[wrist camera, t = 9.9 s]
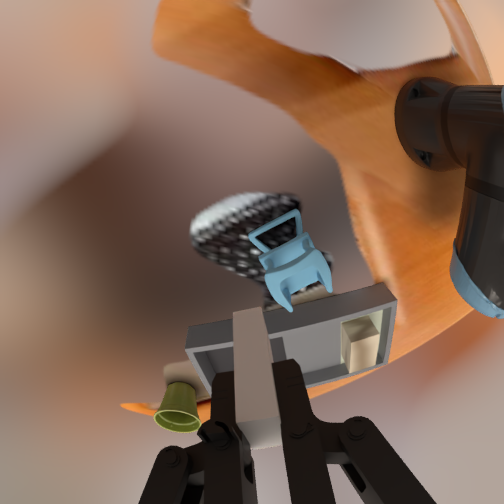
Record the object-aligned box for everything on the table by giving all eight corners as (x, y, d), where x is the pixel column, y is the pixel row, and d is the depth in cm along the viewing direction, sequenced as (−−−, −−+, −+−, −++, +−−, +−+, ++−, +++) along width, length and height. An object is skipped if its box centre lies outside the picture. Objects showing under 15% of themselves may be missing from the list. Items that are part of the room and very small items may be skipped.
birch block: (368, 315, 43) (379, 333, 39) (365, 346, 47) (375, 365, 42) (341, 323, 43) (351, 342, 39) (341, 354, 47) (349, 373, 42)
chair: (273, 278, 42) (287, 330, 31) (247, 233, 38) (253, 277, 27) (319, 254, 41) (347, 300, 30) (296, 207, 37) (323, 242, 26)
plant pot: (160, 372, 49) (152, 406, 41) (205, 380, 51) (203, 415, 43) (159, 397, 53) (154, 428, 45) (200, 404, 54) (199, 435, 47)
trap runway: (382, 282, 44) (397, 299, 39) (377, 345, 50) (387, 363, 45) (188, 326, 44) (184, 349, 39) (215, 383, 51) (215, 404, 46)
